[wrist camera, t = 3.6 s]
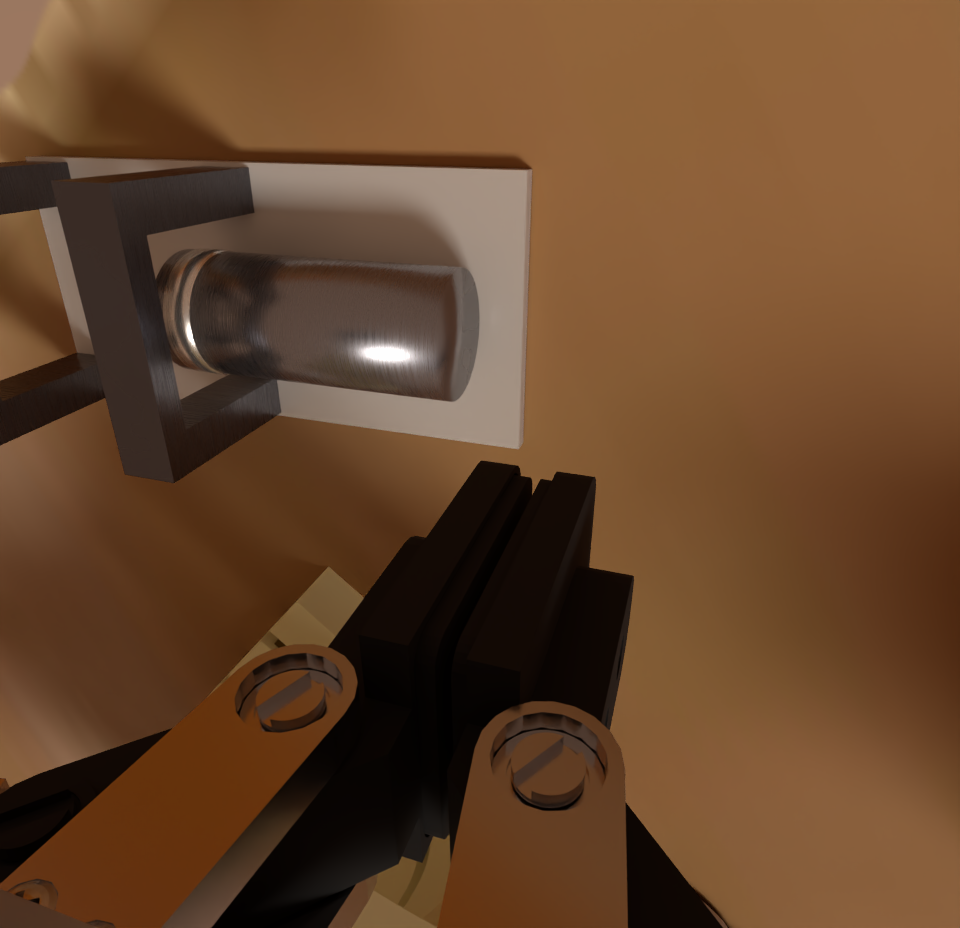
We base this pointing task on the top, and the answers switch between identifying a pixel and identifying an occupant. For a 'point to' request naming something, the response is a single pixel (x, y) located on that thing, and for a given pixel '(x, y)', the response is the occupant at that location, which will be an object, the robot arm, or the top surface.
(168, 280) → the tube
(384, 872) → the slatted curved stool
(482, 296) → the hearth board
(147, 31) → the top surface
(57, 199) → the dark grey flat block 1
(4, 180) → the dark angular blocks
